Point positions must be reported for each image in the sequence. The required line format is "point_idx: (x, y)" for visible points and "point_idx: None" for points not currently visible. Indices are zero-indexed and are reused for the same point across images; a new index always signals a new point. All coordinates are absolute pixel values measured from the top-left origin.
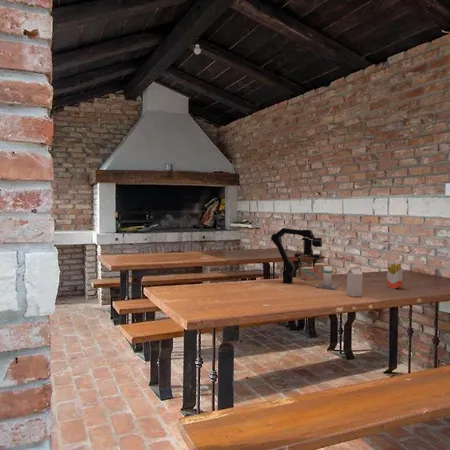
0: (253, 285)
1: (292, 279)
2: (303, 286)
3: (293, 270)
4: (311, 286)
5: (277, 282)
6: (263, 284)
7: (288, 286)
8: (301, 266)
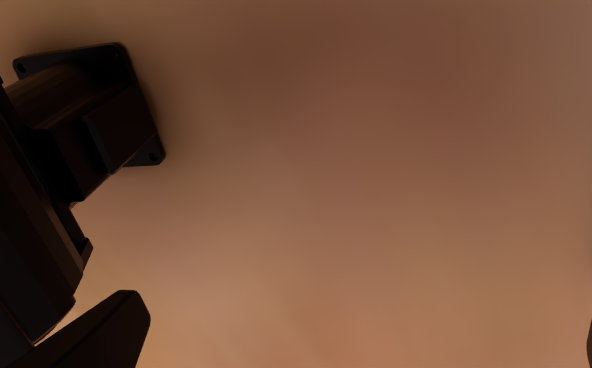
0: None
1: (126, 115)
2: (388, 238)
3: (50, 238)
4: (497, 194)
5: None
6: None
7: (243, 298)
8: (144, 314)
